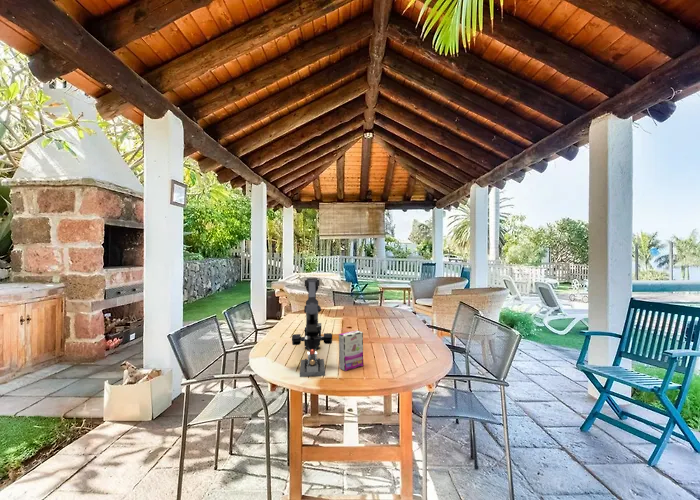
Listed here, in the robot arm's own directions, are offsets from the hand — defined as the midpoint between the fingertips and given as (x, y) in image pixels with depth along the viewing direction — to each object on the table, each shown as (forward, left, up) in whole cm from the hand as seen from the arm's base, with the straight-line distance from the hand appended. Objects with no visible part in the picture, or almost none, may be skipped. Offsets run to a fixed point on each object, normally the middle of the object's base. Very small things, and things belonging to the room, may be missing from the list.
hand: (312, 356), depth 155 cm
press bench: (-1, -2, -7) cm, 8 cm away
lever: (-1, -2, -5) cm, 5 cm away
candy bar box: (-17, +7, -8) cm, 20 cm away
